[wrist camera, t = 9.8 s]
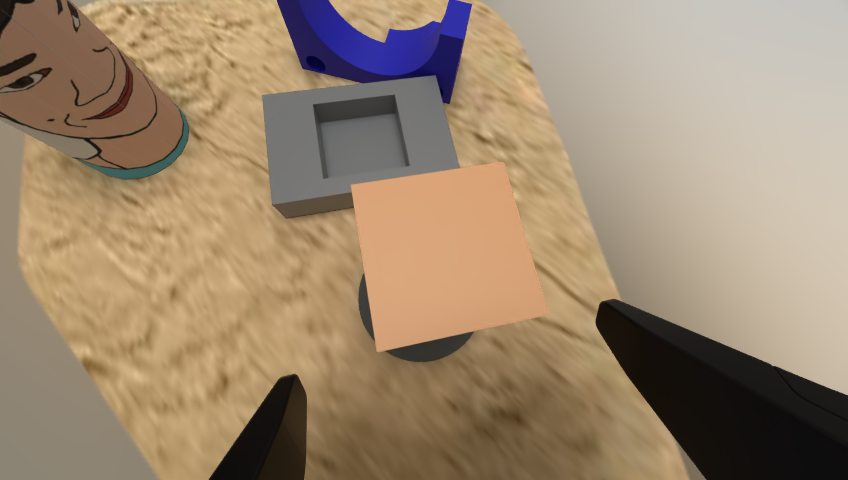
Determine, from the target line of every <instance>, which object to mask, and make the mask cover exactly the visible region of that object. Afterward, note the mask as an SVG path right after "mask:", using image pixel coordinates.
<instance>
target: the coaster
mask: <svg viewBox="0 0 848 480" xmlns="http://www.w3.org/2000/svg"><path fill="white" fill-rule="evenodd" d="M358 300H359V310H360V314H361V318H362V321H363V323H364V326H365V327H366V329H367V331H368V333H369V334H370V336H371V337H372V338H373V340H374V341H375V337H374V330H373V324H372V318H371V311H370V305H369V299H368V292H367V286H366V279H365V273H364V274H363V276H362V280H361V283H360V288H359V299H358ZM473 332H474V331H473ZM473 332H468V333H463V334H459V335H454V336H450V337H445V338H441V339H436V340H431V341H427V342H422V343H418V344H413V345H409V346H404V347H399V348H395V349H390V350H386V351H387V352H389V353H390V354H392V355H394V356H396V357H398V358H401V359H405V360H408V361H415V362H427V361H433V360H437V359H440V358H443V357H446V356H448V355H450V354H452V353H453V352H455V351H456V350H458V349H459V348H460V347H461V346H462V345H464V344H465V342H466V341H467V340H468V339H469V338H470V336H471V335H472V333H473Z"/></svg>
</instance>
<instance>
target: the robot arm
mask: <svg viewBox="0 0 848 480" xmlns="http://www.w3.org/2000/svg"><path fill="white" fill-rule="evenodd" d="M596 326H597V329H598V331H599V332H600V334H601V335H602V337H603V339H604V340H605V342H606V343H607V345H608V346H609V348H610V350H611V351H612V353H613V354H614V356H615V358H616V359H617V361H618V362H619V364H620V366H621V367H622V369H623V370H624V372H625V373H626V375H627V376H628V377H629V379H630V380H631V382H632V383H633V384H634V385H635V387H636V388H637V389H638V391H639V392H640V393H641V395H642V396H643V397H644V399H645V400H646V401H647V403H648V404H649V405H650V406H651V408H652V409H653V410H654V412H655V413H656V414H657V416H658V417H659V418H660V420H661V421H662V422H663V423H664V425H665V426H666V427H667V429H668V430H669V431H670V433H671V434H672V435H673V437H674V438H675V439H676V441H677V442H678V443H679V444H680V446H681V447H682V448H683V450H684V451H685V452H686V453H687V455H688V456H689V458H690V459H691V460H692V461H693V463H694V464H695V465H696V467H697V468H698V469H699V471H700V472H701V473H702V475H703V476H704V477H705V479H706V480H848V395H845V394H843V393H840V392H838V391H835V390H832V389H830V388H827V387H825V386H822V385H820V384H817V383H815V382H812V381H810V380H807V379H805V378H803V377H800V376H798V375H795V374H793V373H790V372H788V371H785V370H783V369H781V368H779V367H776V366H772V365H771V364H769V363H766V362H764V361H762V360H759V359H757V358H755V357H752V356H750V355H747V354H745V353H742V352H740V351H738V350H736V349H733V348H731V347H728V346H726V345H723V344H721V343H719V342H716V341H714V340H712V339H709V338H707V337H704V336H702V335H700V334H697V333H695V332H693V331H690V330H688V329H685V328H683V327H681V326H678V325H676V324H673V323H671V322H669V321H666V320H664V319H662V318H659V317H657V316H654V315H652V314H650V313H647V312H645V311H643V310H640V309H638V308H636V307H633V306H631V305H628V304H626V303H624V302H621V301H619V300H616V299H610V300H606V301H602V302H601V303H600V304H599V308H598V312H597V316H596ZM306 429H307V396H306V392H305V390H304V388H303V386H302V383H301V381H300V379H299V377H298V376H297V375H296V374H292V375H287V376H283V377H281V378H280V379H278V381H277V382H276V384H275V385H274V386H273V388H272V389H271V391H270V392H269V394H268V395H267V397H266V398H265V399H264V401H263V402H262V404H261V405H260V407H259V408H258V409H257V411H256V412H255V414H254V415H253V417H252V418H251V419H250V421H249V422H248V424H247V425H246V427H245V428H244V430H243V431H242V432H241V434H240V435H239V437H238V438H237V440H236V441H235V442H234V444H233V445H232V447H231V448H230V450H229V451H228V452H227V454H226V455H225V457H224V458H223V460H222V461H221V463H220V464H219V465H218V467H217V468H216V470H215V471H214V473H213V474H212V475H211V477H210V478H209V480H304V474H305V464H306Z"/></svg>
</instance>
